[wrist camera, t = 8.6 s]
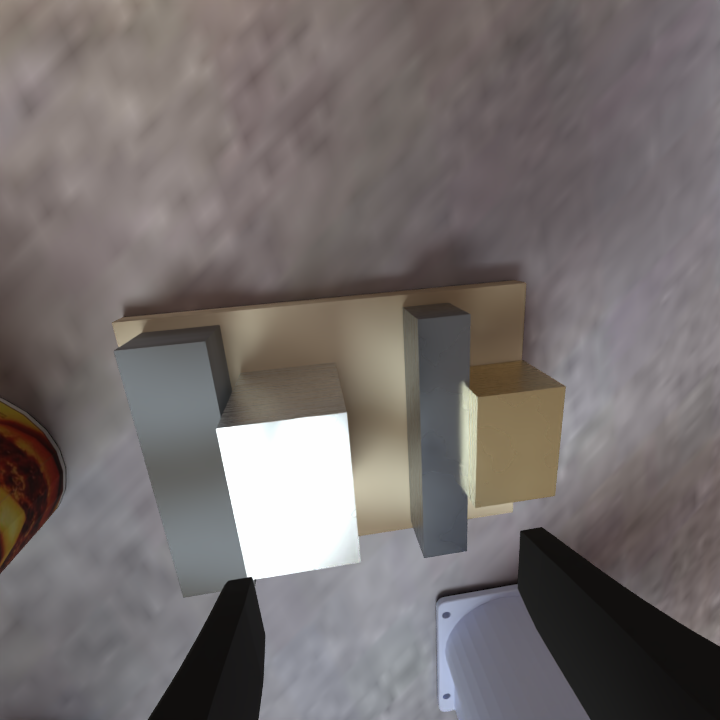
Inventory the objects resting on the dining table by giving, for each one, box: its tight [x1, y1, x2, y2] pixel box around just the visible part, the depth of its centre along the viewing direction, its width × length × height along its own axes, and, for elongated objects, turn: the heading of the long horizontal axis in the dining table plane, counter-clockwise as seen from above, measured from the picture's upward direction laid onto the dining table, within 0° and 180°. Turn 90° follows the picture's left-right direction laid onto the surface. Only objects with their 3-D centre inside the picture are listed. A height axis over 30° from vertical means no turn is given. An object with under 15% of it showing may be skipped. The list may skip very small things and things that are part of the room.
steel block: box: [216, 362, 361, 580], centre depth 16 cm, size 4×6×5 cm, turn 4°
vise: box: [112, 280, 526, 598], centre depth 18 cm, size 12×17×4 cm
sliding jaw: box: [402, 303, 566, 558], centre depth 17 cm, size 11×6×3 cm, turn 4°
